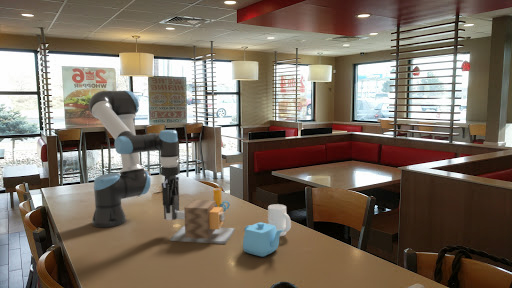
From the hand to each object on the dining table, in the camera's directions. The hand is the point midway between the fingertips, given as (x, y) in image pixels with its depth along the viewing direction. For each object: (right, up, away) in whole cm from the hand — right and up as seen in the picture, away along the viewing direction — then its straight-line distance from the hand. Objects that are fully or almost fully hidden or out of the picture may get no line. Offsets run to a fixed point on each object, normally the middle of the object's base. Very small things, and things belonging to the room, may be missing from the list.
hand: (171, 217), depth 166 cm
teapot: (+40, -10, -21) cm, 46 cm away
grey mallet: (+10, 0, -2) cm, 11 cm away
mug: (+48, -7, -2) cm, 48 cm away
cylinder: (+18, -5, +21) cm, 28 cm away
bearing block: (+13, -7, -2) cm, 15 cm away
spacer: (+20, +1, -4) cm, 20 cm away
